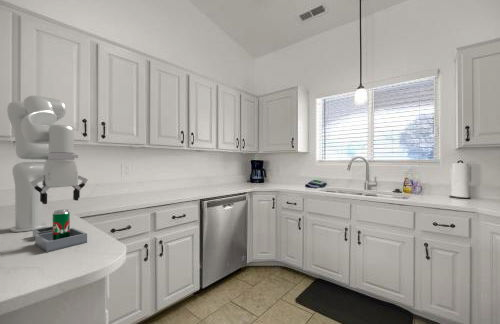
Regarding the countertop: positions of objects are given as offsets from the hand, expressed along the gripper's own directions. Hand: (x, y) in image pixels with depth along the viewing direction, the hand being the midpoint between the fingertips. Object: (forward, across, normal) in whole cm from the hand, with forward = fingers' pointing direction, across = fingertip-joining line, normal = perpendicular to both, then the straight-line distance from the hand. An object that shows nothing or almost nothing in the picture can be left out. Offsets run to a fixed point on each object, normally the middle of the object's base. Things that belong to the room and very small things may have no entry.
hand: (60, 201), depth 88 cm
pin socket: (+16, 0, -15) cm, 22 cm away
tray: (+16, 0, +1) cm, 16 cm away
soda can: (+16, 0, +1) cm, 16 cm away
